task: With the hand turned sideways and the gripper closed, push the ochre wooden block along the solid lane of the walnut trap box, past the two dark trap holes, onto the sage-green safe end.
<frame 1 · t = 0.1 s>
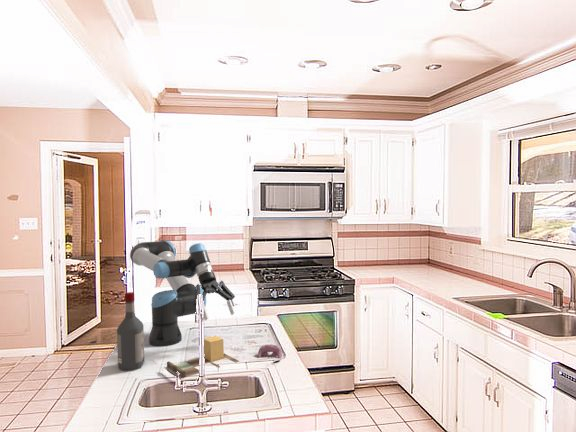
hand: (220, 316, 197), 15 cm above the table, tool tilted 35°, fingers open, 13 cm apart
trap box: (205, 367, 177), on the table
liquor: (131, 366, 180), on the table
pink arch block: (269, 359, 186), on the table
ochre block: (213, 357, 184), point 1 cm above the table, touching trap box
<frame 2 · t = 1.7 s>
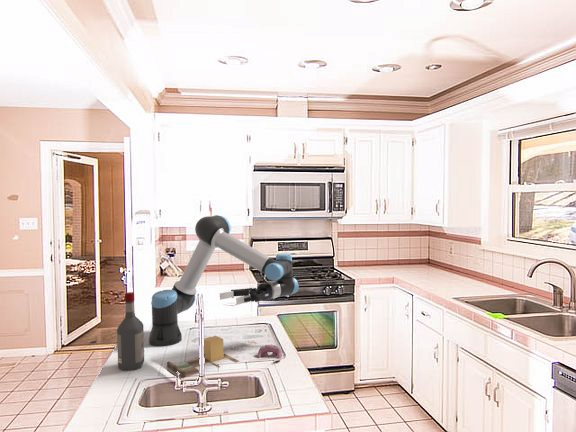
hand: (228, 298, 188), 25 cm above the table, tool horizontal, fingers open, 13 cm apart
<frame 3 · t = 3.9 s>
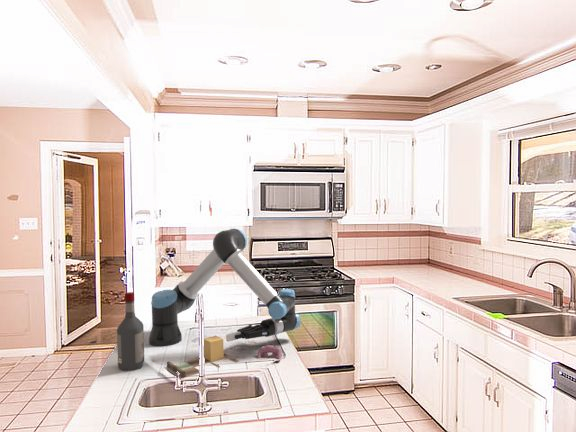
hand: (227, 338, 188), 8 cm above the table, tool horizontal, fingers closed
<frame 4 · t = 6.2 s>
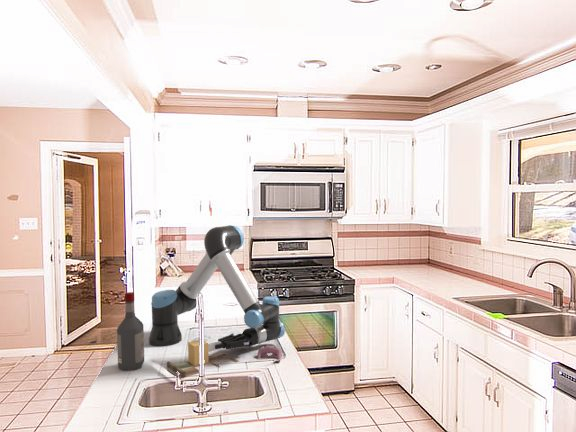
hand: (206, 348, 180), 7 cm above the table, tool horizontal, fingers closed
ochre block: (198, 362, 179), point 2 cm above the table, touching gripper
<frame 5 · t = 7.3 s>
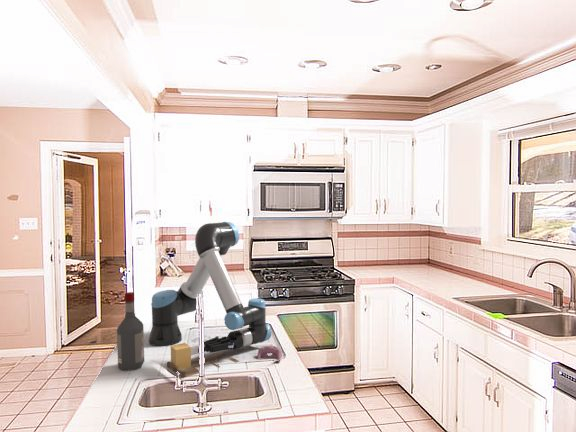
hand: (189, 351, 176), 7 cm above the table, tool horizontal, fingers closed
ochre block: (181, 366, 175), point 2 cm above the table
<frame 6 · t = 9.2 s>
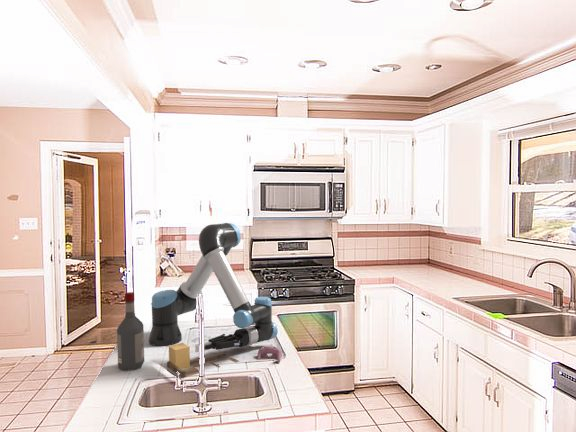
hand: (196, 348, 178), 7 cm above the table, tool horizontal, fingers closed
ochre block: (179, 366, 175), point 1 cm above the table, touching trap box
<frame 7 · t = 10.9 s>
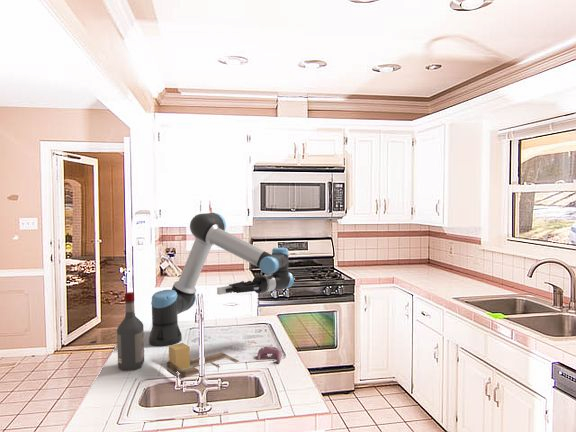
hand: (218, 291, 186), 29 cm above the table, tool horizontal, fingers closed
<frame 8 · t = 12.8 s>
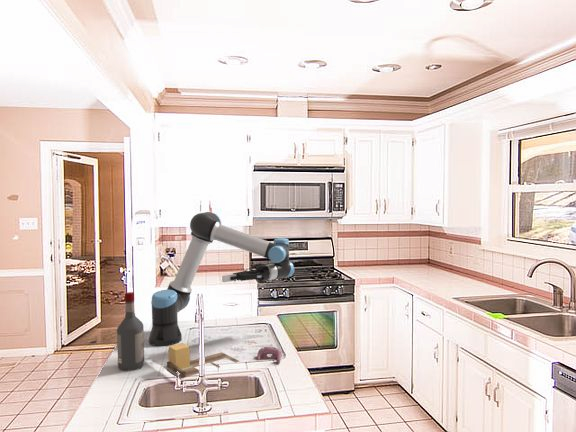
hand: (223, 279, 196), 32 cm above the table, tool horizontal, fingers closed
at the end: ochre block 1.3 cm from the target spot on the trap box, point 1.5 cm above the trap box's base; ochre block tilted 0°; ochre block moved 15.0 cm from its start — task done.
